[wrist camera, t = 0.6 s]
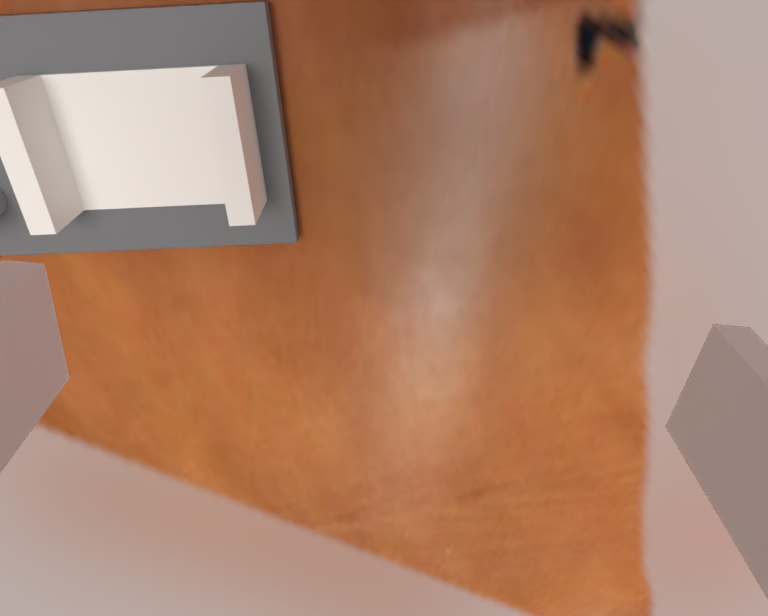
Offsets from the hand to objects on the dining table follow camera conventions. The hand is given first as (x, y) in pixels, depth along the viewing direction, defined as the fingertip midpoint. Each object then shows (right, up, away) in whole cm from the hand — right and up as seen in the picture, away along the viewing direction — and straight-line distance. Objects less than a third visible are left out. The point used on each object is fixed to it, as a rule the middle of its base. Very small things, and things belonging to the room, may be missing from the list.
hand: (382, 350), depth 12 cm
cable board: (-22, +11, +24) cm, 35 cm away
